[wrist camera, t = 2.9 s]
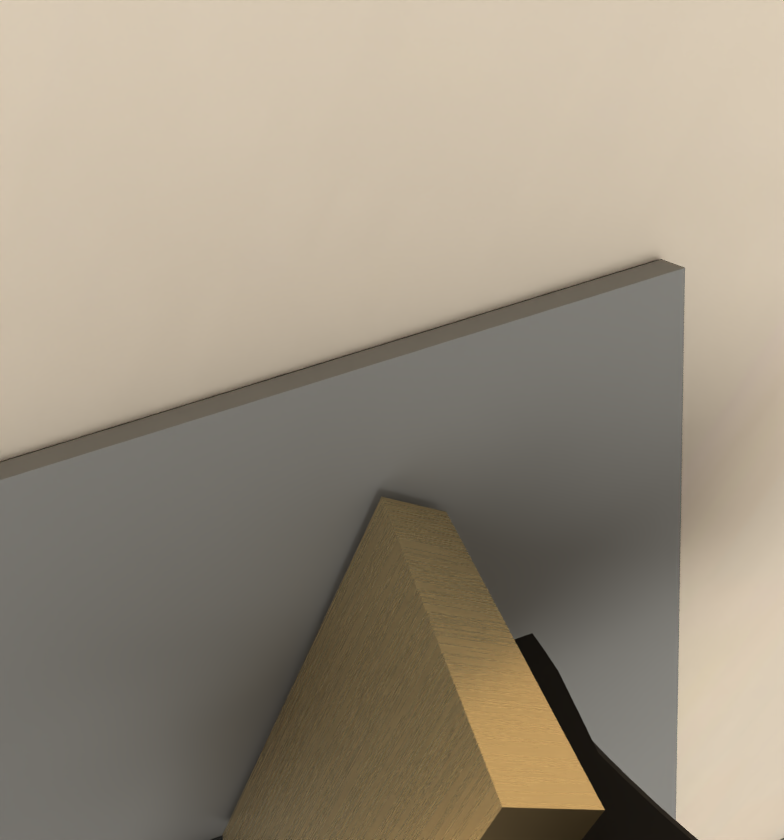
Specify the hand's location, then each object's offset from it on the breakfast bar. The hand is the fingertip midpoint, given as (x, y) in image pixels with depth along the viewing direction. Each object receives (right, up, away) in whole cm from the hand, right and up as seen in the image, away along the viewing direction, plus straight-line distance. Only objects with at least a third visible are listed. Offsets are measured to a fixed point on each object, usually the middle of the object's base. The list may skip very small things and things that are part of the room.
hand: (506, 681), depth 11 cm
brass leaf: (-4, -1, +1) cm, 4 cm away
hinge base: (-3, -5, +4) cm, 7 cm away
